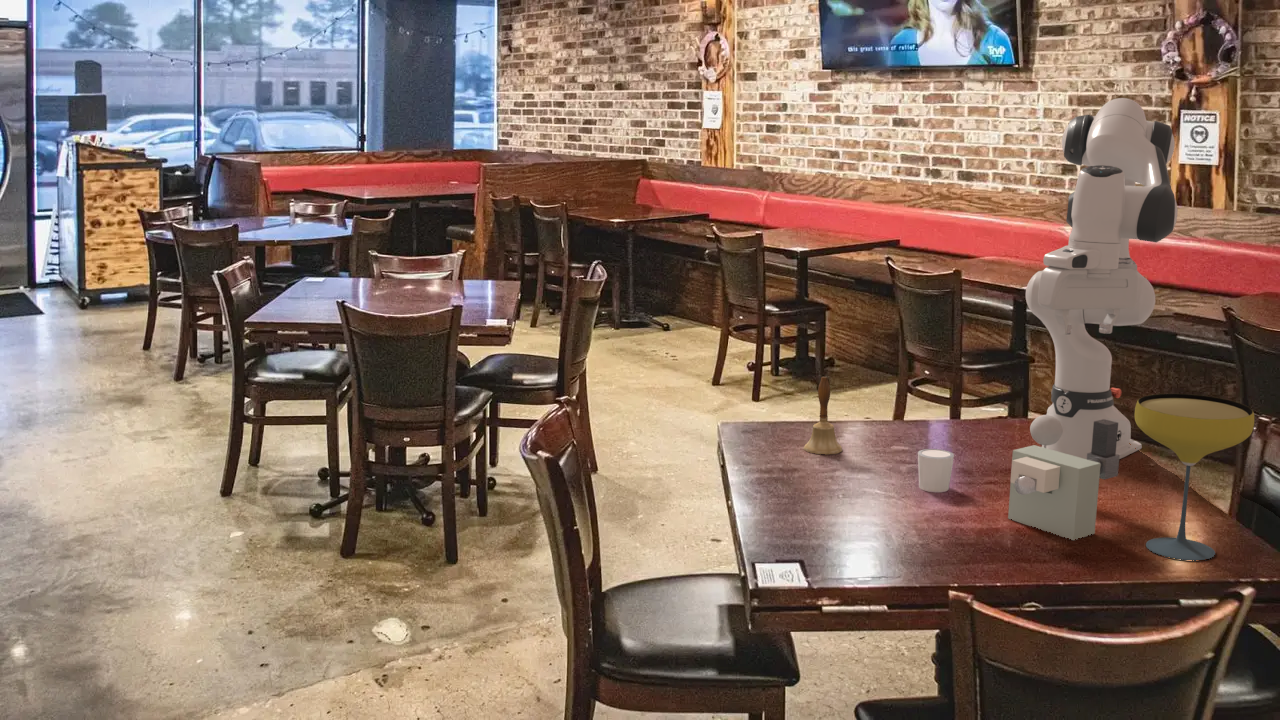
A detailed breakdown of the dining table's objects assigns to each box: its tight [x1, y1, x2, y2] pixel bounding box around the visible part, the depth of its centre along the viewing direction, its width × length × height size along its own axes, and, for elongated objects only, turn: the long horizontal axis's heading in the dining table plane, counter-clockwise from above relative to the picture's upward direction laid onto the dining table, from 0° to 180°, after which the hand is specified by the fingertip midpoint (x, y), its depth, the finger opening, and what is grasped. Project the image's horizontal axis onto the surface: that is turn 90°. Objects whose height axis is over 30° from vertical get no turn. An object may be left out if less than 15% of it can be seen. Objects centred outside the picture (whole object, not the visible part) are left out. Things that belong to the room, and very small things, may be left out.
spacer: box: [1009, 457, 1060, 493], centre depth 220 cm, size 4×7×4 cm, turn 35°
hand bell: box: [803, 376, 843, 456], centre depth 271 cm, size 8×8×16 cm
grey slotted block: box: [1007, 444, 1101, 541], centre depth 224 cm, size 6×14×13 cm, turn 35°
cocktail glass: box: [1134, 393, 1255, 562], centre depth 211 cm, size 18×18×25 cm
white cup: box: [917, 448, 955, 493], centre depth 246 cm, size 7×7×7 cm
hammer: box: [1014, 419, 1120, 495], centre depth 224 cm, size 25×4×10 cm, turn 125°
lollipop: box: [1029, 414, 1063, 448], centre depth 244 cm, size 6×6×15 cm
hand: (1085, 333), depth 229 cm, fingers open, 8 cm apart
